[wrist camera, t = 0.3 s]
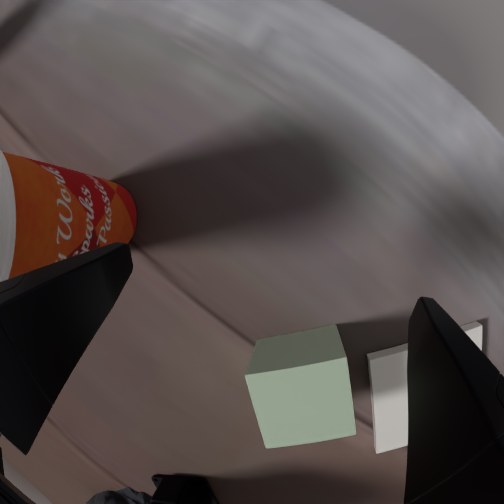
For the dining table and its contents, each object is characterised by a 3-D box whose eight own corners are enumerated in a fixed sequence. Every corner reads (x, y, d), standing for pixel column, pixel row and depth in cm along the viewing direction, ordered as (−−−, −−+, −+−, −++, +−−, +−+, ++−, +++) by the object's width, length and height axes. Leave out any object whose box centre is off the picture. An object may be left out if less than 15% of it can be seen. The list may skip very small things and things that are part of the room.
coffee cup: (142, 277, 24) (-6, 335, 10) (68, 256, 25) (-71, 284, 11) (158, 171, 23) (6, 130, 9) (80, 163, 24) (-62, 138, 10)
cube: (346, 390, 23) (356, 434, 17) (273, 403, 24) (265, 448, 18) (335, 323, 23) (346, 356, 17) (257, 339, 24) (244, 375, 18)
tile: (470, 414, 21) (475, 420, 20) (374, 445, 23) (376, 453, 22) (475, 320, 21) (482, 325, 20) (366, 354, 22) (369, 360, 21)
